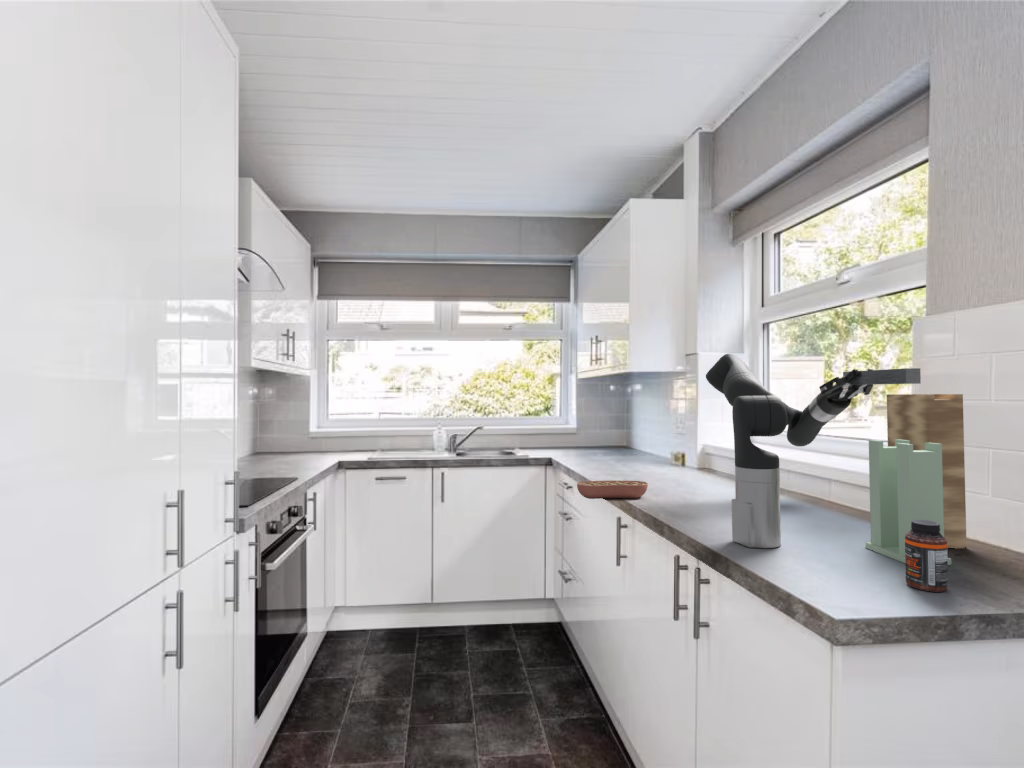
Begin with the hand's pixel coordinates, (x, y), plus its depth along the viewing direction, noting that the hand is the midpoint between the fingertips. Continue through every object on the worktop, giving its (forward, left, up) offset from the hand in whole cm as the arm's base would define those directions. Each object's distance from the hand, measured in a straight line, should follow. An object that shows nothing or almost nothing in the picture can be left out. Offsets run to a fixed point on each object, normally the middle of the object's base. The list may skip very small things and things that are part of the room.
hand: (864, 372), depth 144 cm
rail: (-1, -5, -3) cm, 6 cm away
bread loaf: (-48, +52, -39) cm, 81 cm away
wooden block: (-2, -18, -39) cm, 43 cm away
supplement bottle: (-30, -41, -39) cm, 64 cm away
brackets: (-17, -25, -39) cm, 49 cm away
